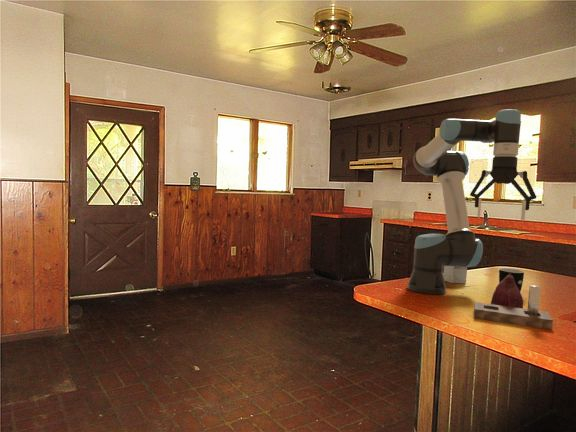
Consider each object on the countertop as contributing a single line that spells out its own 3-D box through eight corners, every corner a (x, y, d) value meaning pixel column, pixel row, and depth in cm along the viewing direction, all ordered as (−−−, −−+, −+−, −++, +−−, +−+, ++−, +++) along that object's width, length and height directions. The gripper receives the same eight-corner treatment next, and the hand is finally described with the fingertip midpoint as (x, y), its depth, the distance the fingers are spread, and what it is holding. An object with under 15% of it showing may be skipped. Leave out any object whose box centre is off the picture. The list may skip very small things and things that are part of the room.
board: (474, 318, 138) (475, 309, 138) (474, 310, 147) (474, 301, 147) (552, 329, 129) (552, 320, 129) (546, 320, 139) (547, 311, 138)
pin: (527, 323, 135) (530, 286, 134) (525, 320, 138) (529, 284, 137) (537, 324, 134) (541, 287, 133) (536, 322, 137) (539, 286, 136)
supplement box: (452, 283, 189) (454, 256, 188) (442, 280, 196) (444, 253, 195) (466, 283, 191) (468, 256, 190) (456, 279, 198) (458, 253, 197)
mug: (519, 298, 167) (521, 273, 166) (494, 294, 172) (496, 269, 172) (525, 293, 176) (527, 269, 175) (502, 289, 182) (504, 266, 181)
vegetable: (519, 323, 145) (529, 285, 140) (487, 313, 150) (495, 276, 145) (523, 309, 153) (532, 273, 148) (492, 300, 159) (500, 265, 153)
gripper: (465, 155, 144) (461, 216, 146) (549, 156, 135) (543, 221, 136) (465, 156, 151) (461, 215, 153) (545, 157, 141) (540, 220, 143)
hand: (500, 218), depth 144 cm, fingers open, 13 cm apart
